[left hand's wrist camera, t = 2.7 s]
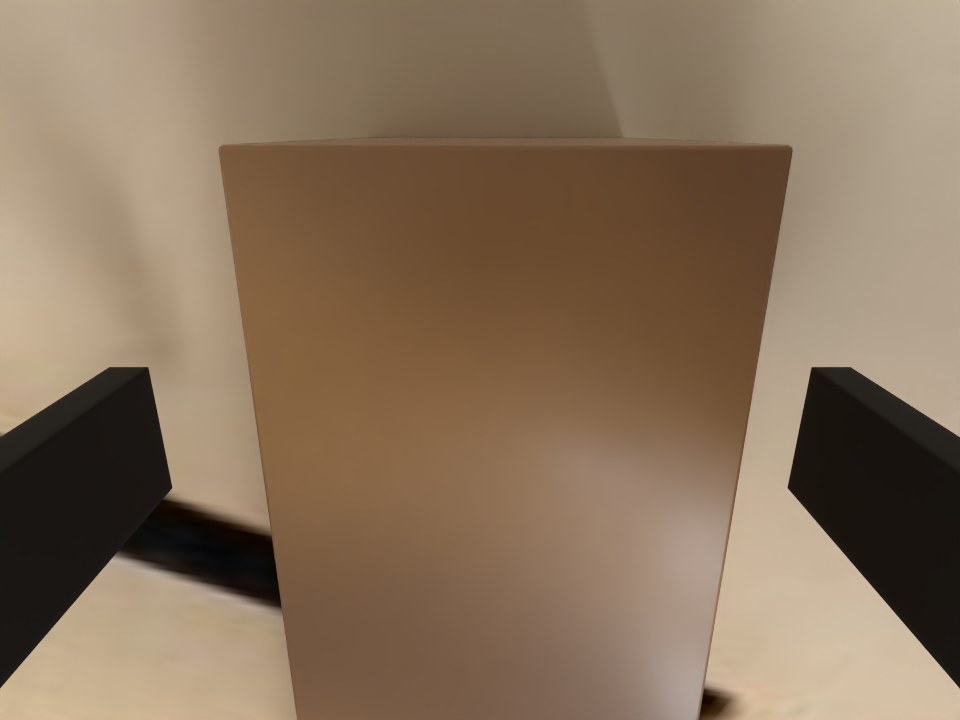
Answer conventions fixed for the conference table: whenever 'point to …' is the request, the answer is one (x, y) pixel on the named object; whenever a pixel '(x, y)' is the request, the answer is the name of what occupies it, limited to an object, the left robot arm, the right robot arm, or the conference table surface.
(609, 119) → the conference table surface
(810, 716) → the conference table surface
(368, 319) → the beam
